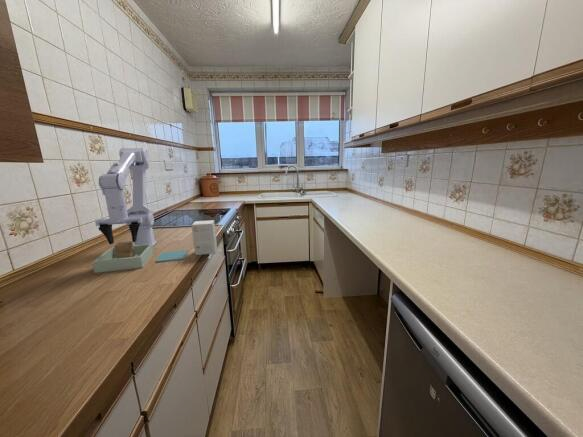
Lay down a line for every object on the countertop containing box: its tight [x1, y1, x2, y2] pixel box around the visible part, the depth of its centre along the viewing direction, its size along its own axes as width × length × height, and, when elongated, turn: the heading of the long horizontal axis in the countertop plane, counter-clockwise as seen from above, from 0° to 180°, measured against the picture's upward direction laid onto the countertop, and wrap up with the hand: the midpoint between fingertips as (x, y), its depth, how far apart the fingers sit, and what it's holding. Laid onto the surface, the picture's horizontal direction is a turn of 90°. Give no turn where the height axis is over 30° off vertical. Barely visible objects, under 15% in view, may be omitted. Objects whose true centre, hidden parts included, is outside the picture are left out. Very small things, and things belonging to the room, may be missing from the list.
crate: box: [91, 244, 155, 274], centre depth 93 cm, size 15×15×4 cm
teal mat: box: [155, 249, 188, 263], centre depth 98 cm, size 10×10×1 cm
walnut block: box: [114, 240, 135, 259], centre depth 92 cm, size 4×4×6 cm
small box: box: [191, 219, 218, 256], centre depth 101 cm, size 8×6×13 cm
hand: (123, 242), depth 92 cm, fingers open, 7 cm apart
